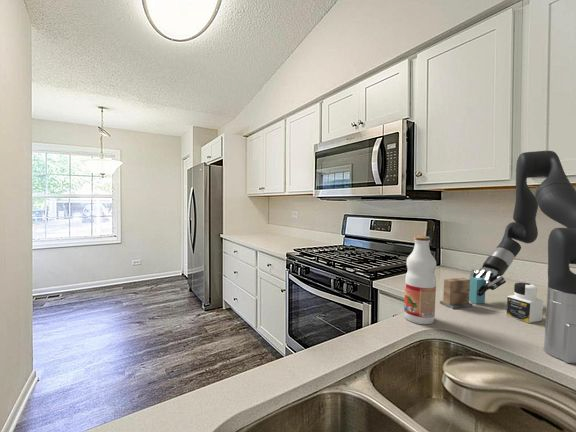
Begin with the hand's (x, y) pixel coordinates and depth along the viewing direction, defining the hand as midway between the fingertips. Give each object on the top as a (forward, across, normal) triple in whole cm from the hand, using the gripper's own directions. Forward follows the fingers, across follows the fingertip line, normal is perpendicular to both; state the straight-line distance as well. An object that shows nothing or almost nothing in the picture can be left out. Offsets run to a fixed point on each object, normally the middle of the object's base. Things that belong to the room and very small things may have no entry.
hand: (474, 293), depth 114 cm
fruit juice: (+26, +8, -20) cm, 34 cm away
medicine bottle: (+1, +16, +6) cm, 17 cm away
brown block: (+9, 0, -4) cm, 10 cm away
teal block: (+2, 0, +4) cm, 4 cm away
